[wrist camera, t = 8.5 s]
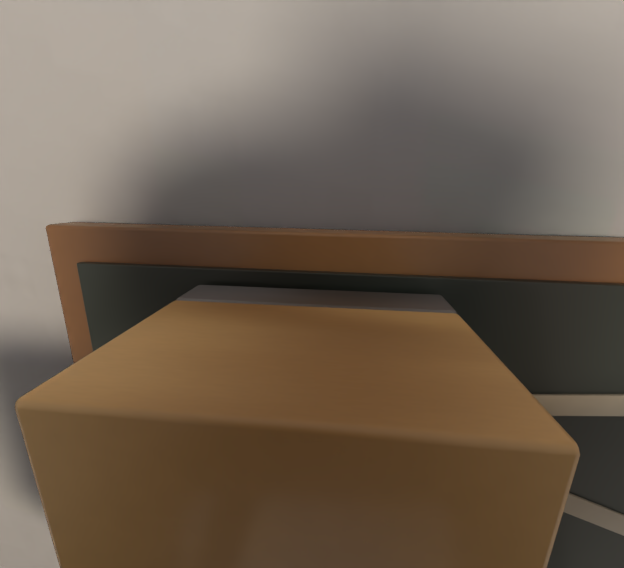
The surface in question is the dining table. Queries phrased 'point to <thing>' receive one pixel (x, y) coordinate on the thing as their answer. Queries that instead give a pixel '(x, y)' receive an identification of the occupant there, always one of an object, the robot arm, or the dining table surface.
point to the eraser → (297, 440)
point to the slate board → (415, 280)
